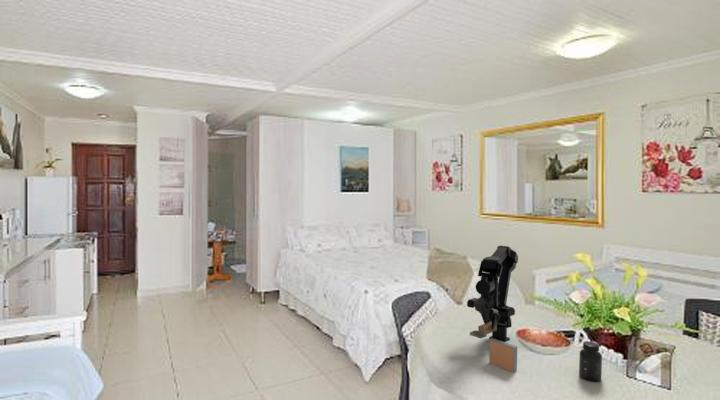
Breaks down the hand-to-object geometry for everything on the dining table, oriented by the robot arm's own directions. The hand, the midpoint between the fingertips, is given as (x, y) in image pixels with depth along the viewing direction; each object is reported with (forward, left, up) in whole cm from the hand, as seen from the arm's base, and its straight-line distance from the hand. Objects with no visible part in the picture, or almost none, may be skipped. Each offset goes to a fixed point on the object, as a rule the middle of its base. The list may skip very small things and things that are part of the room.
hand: (489, 328), depth 168 cm
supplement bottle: (-6, +36, -9) cm, 38 cm away
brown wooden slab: (+3, 0, -1) cm, 3 cm away
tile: (+10, +12, -9) cm, 18 cm away
